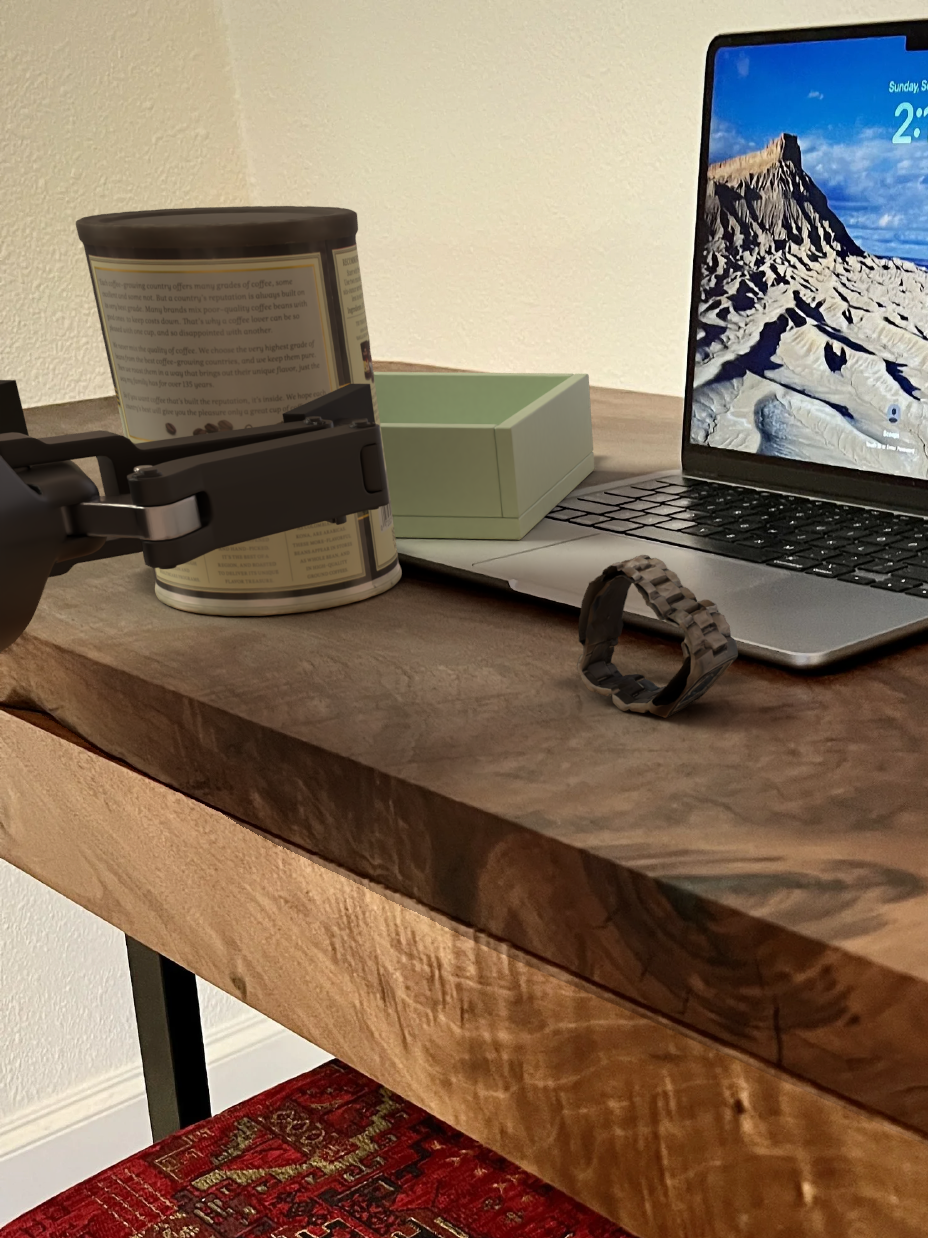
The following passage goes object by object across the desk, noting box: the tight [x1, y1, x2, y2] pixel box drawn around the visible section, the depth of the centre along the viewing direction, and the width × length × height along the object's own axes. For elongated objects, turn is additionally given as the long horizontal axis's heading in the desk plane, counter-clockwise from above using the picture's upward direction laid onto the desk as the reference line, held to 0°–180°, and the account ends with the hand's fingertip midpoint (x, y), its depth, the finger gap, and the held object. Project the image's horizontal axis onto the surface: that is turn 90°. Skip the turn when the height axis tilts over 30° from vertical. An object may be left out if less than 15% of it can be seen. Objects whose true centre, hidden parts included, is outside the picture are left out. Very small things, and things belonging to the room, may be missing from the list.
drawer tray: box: [373, 371, 596, 541], centre depth 82 cm, size 17×17×5 cm
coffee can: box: [75, 205, 403, 617], centre depth 65 cm, size 10×10×14 cm
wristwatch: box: [575, 554, 739, 718], centre depth 54 cm, size 3×5×5 cm
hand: (188, 420), depth 59 cm, fingers open, 13 cm apart
